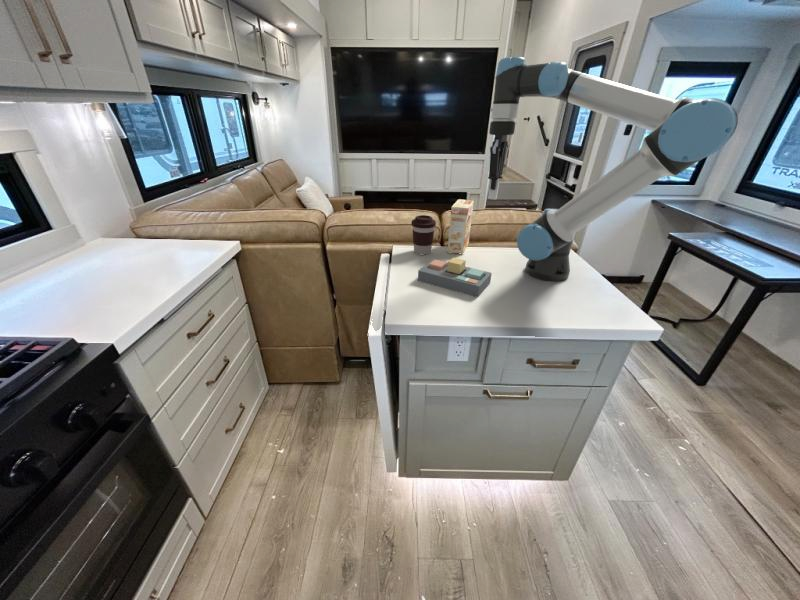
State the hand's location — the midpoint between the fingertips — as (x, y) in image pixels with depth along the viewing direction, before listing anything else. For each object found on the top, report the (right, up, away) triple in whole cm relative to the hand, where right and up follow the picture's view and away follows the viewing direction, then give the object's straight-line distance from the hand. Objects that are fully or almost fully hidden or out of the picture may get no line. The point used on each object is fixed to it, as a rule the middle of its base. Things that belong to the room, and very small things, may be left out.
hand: (492, 198), depth 111 cm
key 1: (-18, -25, +6) cm, 31 cm away
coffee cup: (-22, -14, +27) cm, 38 cm away
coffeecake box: (-6, -12, +32) cm, 34 cm away
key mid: (-12, -24, +1) cm, 27 cm away
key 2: (-6, -28, -1) cm, 29 cm away
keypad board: (-13, -28, +3) cm, 31 cm away
